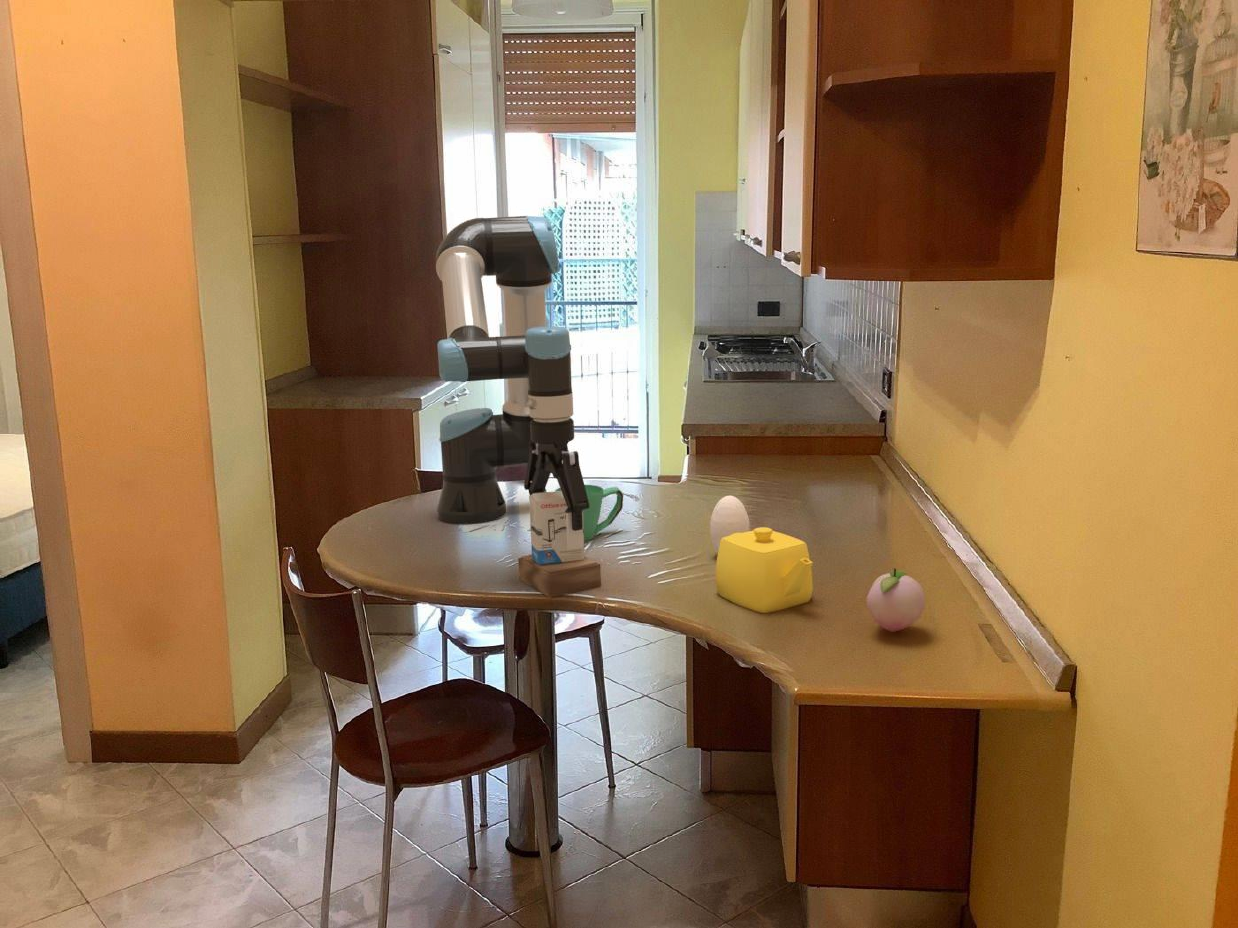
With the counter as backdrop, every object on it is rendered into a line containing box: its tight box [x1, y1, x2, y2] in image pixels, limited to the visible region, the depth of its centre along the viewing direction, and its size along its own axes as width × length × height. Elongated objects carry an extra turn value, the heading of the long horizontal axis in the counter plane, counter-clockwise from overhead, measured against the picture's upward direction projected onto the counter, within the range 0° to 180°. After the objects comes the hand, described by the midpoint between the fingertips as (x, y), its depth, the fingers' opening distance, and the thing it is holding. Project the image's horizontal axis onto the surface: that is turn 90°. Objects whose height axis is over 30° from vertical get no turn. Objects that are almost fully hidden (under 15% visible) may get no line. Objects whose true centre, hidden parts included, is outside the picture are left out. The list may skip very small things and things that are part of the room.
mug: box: [554, 484, 624, 542], centre depth 211 cm, size 15×10×10 cm
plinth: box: [517, 553, 602, 599], centre depth 183 cm, size 12×10×4 cm
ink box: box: [528, 490, 585, 565], centre depth 182 cm, size 9×5×12 cm, turn 108°
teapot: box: [715, 526, 814, 614], centre depth 171 cm, size 20×12×12 cm, turn 32°
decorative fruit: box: [866, 567, 926, 633], centre depth 155 cm, size 9×8×10 cm
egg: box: [709, 495, 751, 552], centre depth 194 cm, size 7×7×12 cm
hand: (557, 539), depth 182 cm, fingers open, 12 cm apart
